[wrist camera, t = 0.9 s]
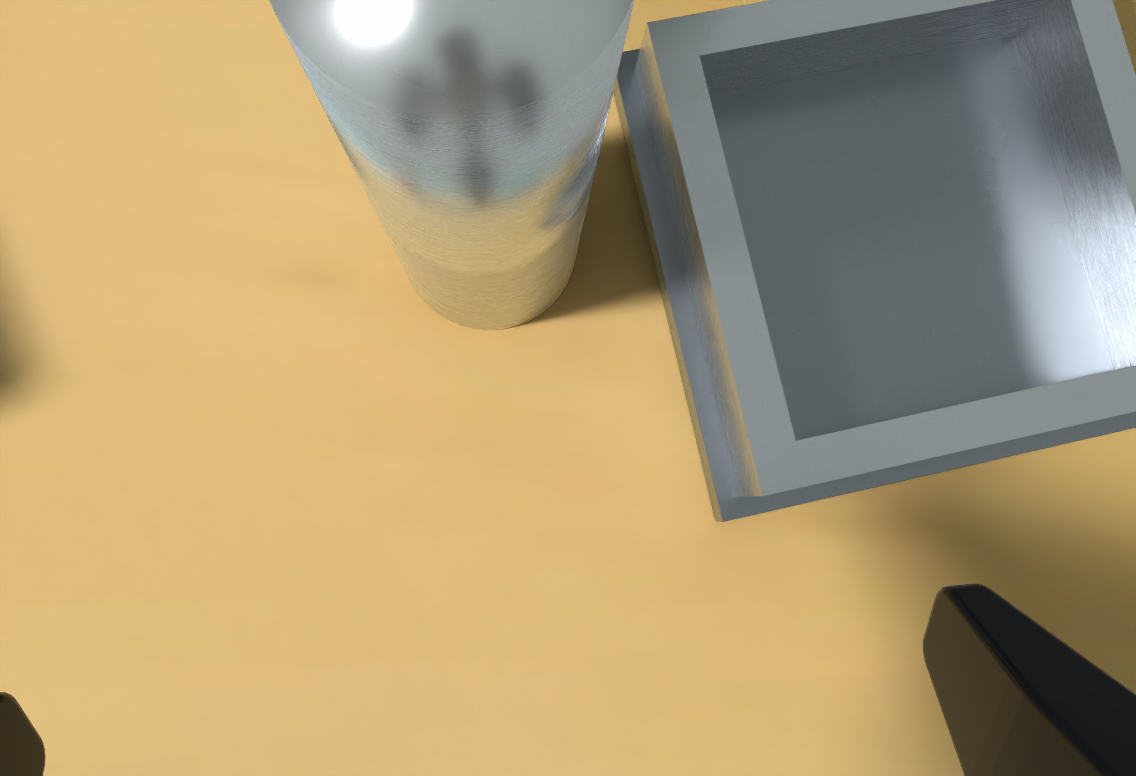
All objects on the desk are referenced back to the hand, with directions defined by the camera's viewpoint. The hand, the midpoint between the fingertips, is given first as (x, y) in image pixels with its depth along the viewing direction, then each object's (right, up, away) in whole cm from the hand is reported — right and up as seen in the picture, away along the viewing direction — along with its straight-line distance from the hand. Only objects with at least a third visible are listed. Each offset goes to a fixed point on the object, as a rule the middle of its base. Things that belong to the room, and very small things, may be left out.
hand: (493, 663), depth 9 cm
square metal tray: (+9, +6, +14) cm, 18 cm away
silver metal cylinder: (-1, +6, +14) cm, 15 cm away
